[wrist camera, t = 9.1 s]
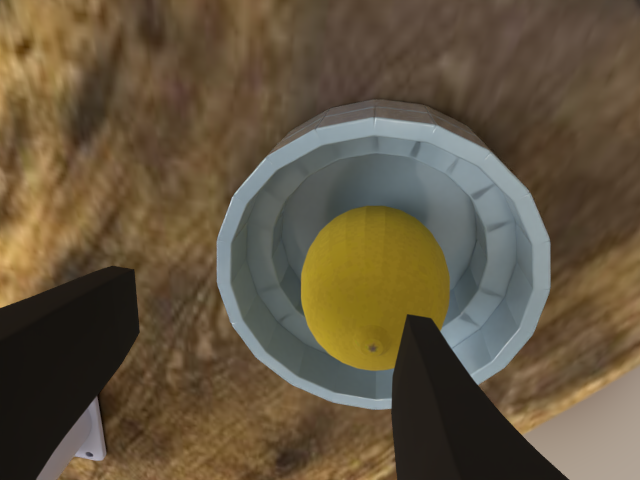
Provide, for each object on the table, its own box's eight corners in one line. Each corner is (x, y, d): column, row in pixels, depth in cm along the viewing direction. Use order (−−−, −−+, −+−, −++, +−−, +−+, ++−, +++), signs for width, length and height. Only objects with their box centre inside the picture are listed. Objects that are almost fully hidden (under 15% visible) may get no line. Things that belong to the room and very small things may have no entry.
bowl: (247, 317, 24) (216, 382, 20) (255, 81, 19) (216, 97, 14) (474, 354, 23) (496, 431, 19) (550, 118, 18) (607, 146, 13)
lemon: (424, 296, 21) (445, 430, 14) (311, 280, 22) (276, 402, 15) (449, 188, 19) (489, 283, 12) (321, 172, 19) (286, 254, 12)
